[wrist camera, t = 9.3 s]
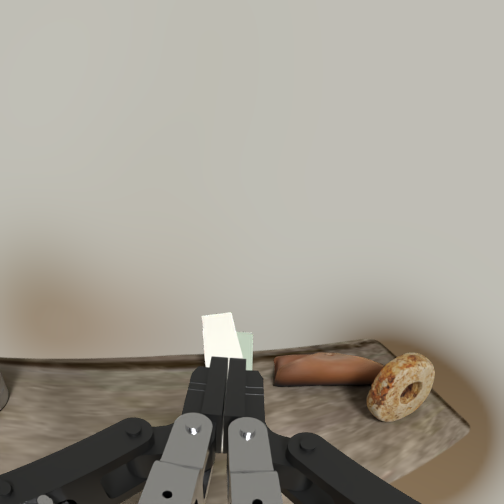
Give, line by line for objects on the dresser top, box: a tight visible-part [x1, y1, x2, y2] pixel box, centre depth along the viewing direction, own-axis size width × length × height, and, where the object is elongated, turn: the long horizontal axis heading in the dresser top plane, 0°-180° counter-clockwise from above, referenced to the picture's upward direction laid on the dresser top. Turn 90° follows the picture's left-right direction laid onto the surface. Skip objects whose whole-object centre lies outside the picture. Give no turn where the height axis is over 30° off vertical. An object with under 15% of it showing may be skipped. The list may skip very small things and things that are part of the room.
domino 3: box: [204, 342, 241, 365], centre depth 41 cm, size 2×5×12 cm
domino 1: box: [202, 326, 237, 345], centre depth 45 cm, size 2×5×12 cm
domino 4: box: [236, 332, 253, 370], centre depth 53 cm, size 2×5×12 cm
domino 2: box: [202, 312, 243, 359], centre depth 49 cm, size 2×5×12 cm
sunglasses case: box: [274, 353, 384, 387], centre depth 48 cm, size 18×7×7 cm
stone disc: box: [367, 353, 435, 422], centre depth 37 cm, size 10×4×10 cm, turn 103°
